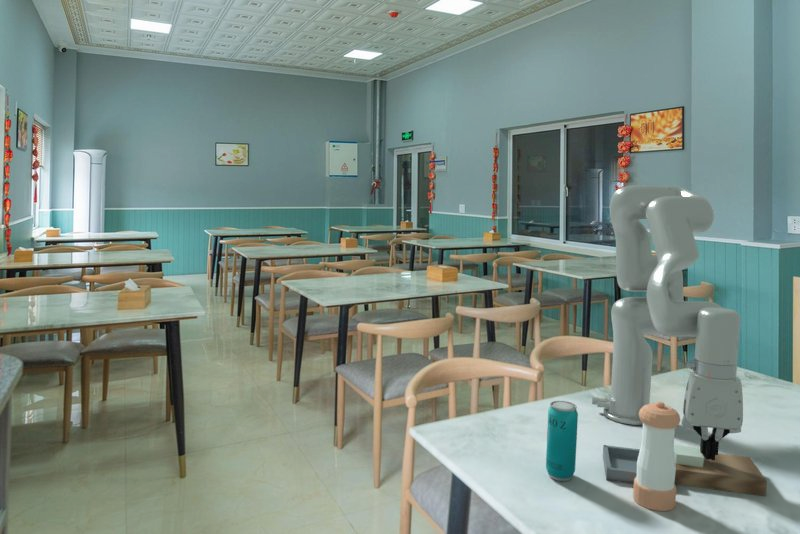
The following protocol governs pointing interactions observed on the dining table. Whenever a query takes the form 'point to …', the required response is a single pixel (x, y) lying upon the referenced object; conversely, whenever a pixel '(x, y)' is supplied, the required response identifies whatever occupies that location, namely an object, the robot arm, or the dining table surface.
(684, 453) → the tile
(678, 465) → the board
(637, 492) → the salt shaker
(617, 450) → the tray
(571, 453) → the beverage can
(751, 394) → the dining table surface
